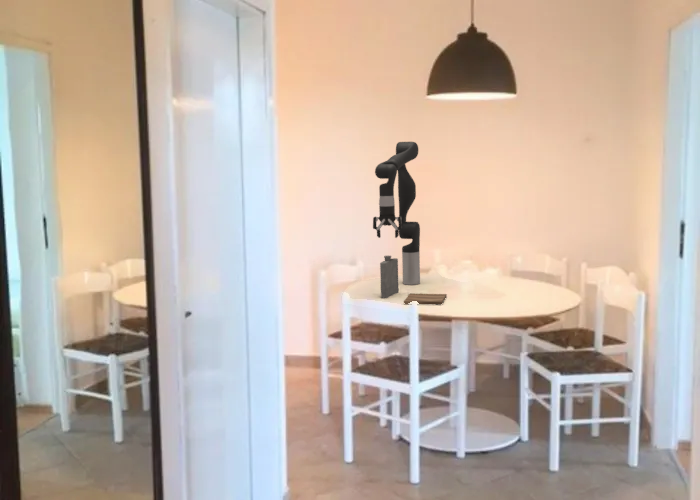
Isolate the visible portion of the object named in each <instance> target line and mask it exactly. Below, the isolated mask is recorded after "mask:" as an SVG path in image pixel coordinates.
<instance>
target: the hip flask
mask: <svg viewBox="0 0 700 500" xmlns="http://www.w3.org/2000/svg"><path fill="white" fill-rule="evenodd" d="M383 258H384V260H383V261H381V262H380V263H379V267H380V268H379V270H380V298H381V299H389V298H390V297H392V296H394V295H396V294H399V291H400V290H399V258H394V257H393V258H392V255H384V257H383Z"/></svg>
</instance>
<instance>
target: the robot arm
mask: <svg viewBox="0 0 700 500" xmlns="http://www.w3.org/2000/svg"><path fill="white" fill-rule="evenodd" d="M418 155H419V145H418V144H417V142H416V141H398V142H397V143H396V146H395V154H394V155H392V156H390V157H389V158H388V159H387V160H385V161H383V162H380V163H379V164H377V166H375V169H374V174H375V176H376V177H377V178H378V179H381V180H382V179H383V180H384V179H385V180H387V182H386V183H384V182H383V183H381V184H379V189H378V190H379V198H378V205H379V208H378V209H379V211H378V212H379V216H373V217H372V228H373V230H376V237H377V238H379V239H381V228H382V227H383V226H384V227H385V226H389V227H390V226H392V227H393V229H395V230H394V238H395V239H397V238H398V237H399V238H400V239H401V240H411V242H409V243H408V244H406V245H403V246H402V248H401V256H402V257H401V258H402V284H403V285H408V286H409V285H410V286H411V285H412V286H414V285H419V284H421V267H420V266H421V264H420V263H421V261H420V257H421V255H420V247H421V246H420V243H421V242H420V241H421V240H420V238H421V226H420V223H419V222H418V221H407V216H408V212H409V210H410V208H411V206H413V204H414V202H415V200H416V197H417V195H416V194H417V191H416V190H417V189H416V182H415V180H414V179H413V177H412V176H411V174H410V172H409V171H408V169H407V166H406V164H407V163H409V162H411V161H413V160H416V158H417V157H418ZM396 177H397V191H398V193H397V194H398V216H396V215H395V214H396V212H395V211H396V209H395V205H396V204H395V194H394V193H395V191H394V189H395V188H394V187H395V182H396ZM378 221H379V222H380V223H379V224H378V226H377V222H378ZM395 221H396V222H398V225H397V224H396V222H395Z"/></svg>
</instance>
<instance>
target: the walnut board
mask: <svg viewBox="0 0 700 500" xmlns="http://www.w3.org/2000/svg"><path fill="white" fill-rule="evenodd" d="M447 295H448V294H447V293H409V294H408V295H407V296H406V298H405V299H404V300H403V304H404V303H405V304H404V305H409V304H408V303H410V302H412V301H417V302H418V303H419V304H442V303H443V304H444V302H445V301H444V300H446V299H447ZM445 298H446V299H445ZM443 301H444V302H443ZM443 304H442V305H443Z"/></svg>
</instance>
